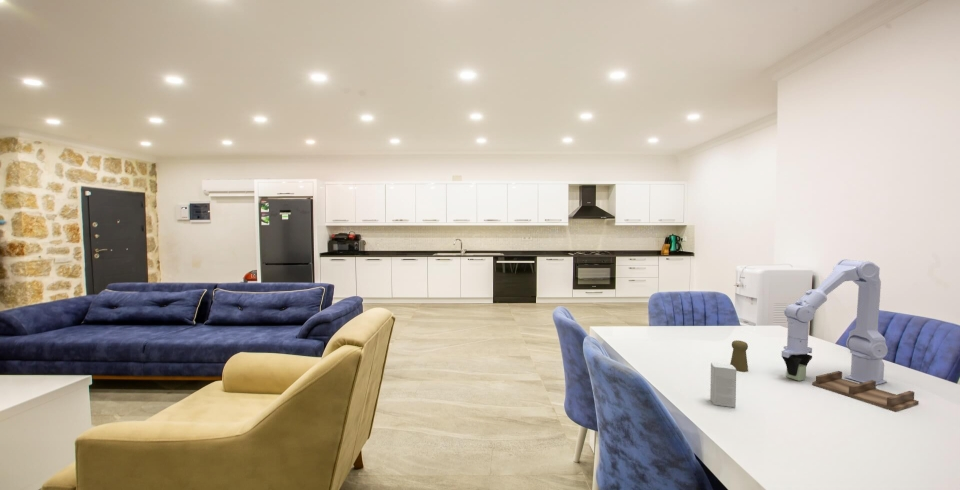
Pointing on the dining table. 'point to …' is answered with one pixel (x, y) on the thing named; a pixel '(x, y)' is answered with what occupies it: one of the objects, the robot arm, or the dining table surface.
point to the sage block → (798, 373)
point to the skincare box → (723, 385)
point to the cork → (739, 356)
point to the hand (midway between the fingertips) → (796, 374)
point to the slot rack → (865, 392)
